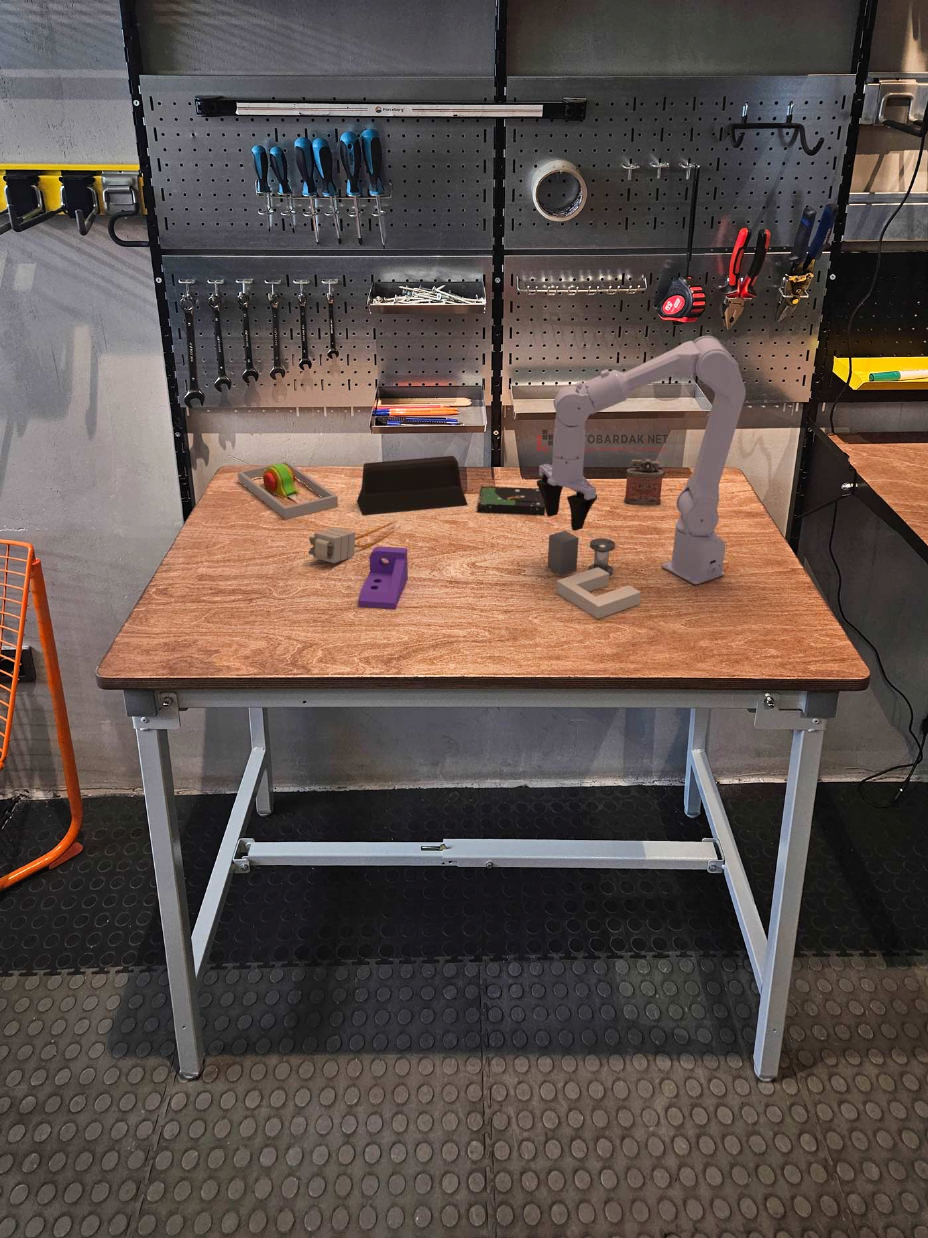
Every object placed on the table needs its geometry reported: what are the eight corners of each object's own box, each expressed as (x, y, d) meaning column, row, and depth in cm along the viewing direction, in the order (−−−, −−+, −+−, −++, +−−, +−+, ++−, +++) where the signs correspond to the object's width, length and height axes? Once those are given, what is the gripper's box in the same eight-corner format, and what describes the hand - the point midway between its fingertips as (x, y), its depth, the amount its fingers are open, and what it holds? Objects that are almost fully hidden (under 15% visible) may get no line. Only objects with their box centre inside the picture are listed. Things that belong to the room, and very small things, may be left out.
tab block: (576, 570, 197) (578, 537, 194) (560, 575, 195) (562, 542, 192) (563, 562, 200) (565, 530, 197) (547, 567, 198) (549, 535, 195)
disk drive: (545, 499, 229) (480, 496, 230) (546, 488, 228) (480, 485, 229) (544, 518, 220) (476, 514, 221) (545, 506, 219) (477, 503, 220)
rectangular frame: (338, 506, 224) (337, 496, 223) (285, 519, 218) (284, 508, 217) (288, 471, 242) (287, 461, 241) (238, 481, 236) (237, 471, 235)
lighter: (660, 500, 228) (664, 457, 223) (661, 506, 225) (665, 463, 220) (623, 498, 228) (627, 456, 223) (624, 504, 225) (628, 462, 220)
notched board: (639, 604, 185) (641, 591, 184) (597, 618, 181) (598, 606, 179) (597, 578, 194) (598, 567, 193) (556, 592, 189) (556, 580, 188)
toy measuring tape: (277, 481, 237) (274, 454, 234) (326, 505, 225) (324, 477, 222) (254, 488, 234) (251, 461, 230) (302, 513, 221) (300, 485, 218)
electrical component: (378, 536, 218) (379, 513, 217) (401, 542, 216) (403, 519, 214) (307, 558, 199) (309, 533, 197) (332, 565, 196) (333, 540, 194)
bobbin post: (618, 573, 196) (620, 545, 193) (598, 579, 194) (601, 551, 191) (601, 563, 200) (604, 536, 197) (582, 570, 197) (584, 542, 194)
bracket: (372, 578, 195) (371, 545, 192) (407, 580, 194) (407, 548, 191) (358, 608, 185) (356, 574, 181) (395, 610, 184) (394, 577, 180)
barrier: (459, 492, 232) (459, 450, 227) (468, 506, 225) (468, 464, 220) (356, 501, 227) (354, 459, 222) (362, 517, 220) (360, 473, 215)
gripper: (527, 446, 189) (524, 513, 196) (576, 470, 179) (572, 540, 186) (557, 439, 193) (553, 505, 200) (607, 462, 182) (601, 531, 189)
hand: (564, 522), depth 193 cm, fingers open, 7 cm apart
